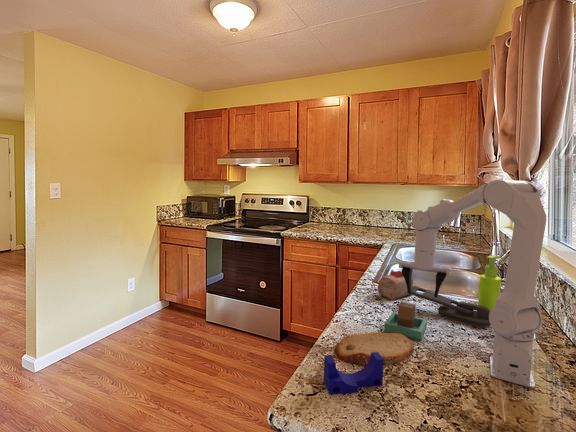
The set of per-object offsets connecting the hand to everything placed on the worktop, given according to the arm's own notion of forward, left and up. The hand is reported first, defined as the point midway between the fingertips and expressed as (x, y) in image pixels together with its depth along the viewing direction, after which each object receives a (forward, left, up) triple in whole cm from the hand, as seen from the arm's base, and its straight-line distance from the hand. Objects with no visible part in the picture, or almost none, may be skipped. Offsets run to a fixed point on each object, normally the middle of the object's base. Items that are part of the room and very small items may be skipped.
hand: (422, 294), depth 98 cm
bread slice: (-24, +7, -10) cm, 27 cm away
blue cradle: (-41, +7, -10) cm, 43 cm away
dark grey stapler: (+13, -6, -10) cm, 17 cm away
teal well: (-7, +3, -9) cm, 12 cm away
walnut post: (-7, +3, -9) cm, 12 cm away
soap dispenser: (+20, -18, -10) cm, 29 cm away
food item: (+22, +13, -10) cm, 27 cm away
